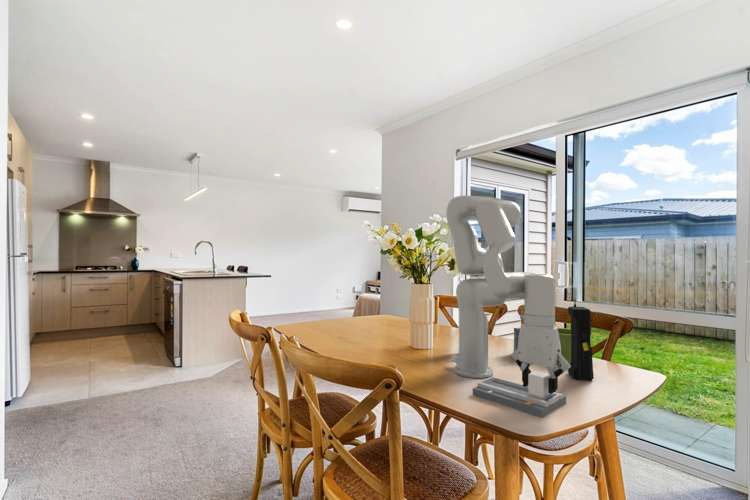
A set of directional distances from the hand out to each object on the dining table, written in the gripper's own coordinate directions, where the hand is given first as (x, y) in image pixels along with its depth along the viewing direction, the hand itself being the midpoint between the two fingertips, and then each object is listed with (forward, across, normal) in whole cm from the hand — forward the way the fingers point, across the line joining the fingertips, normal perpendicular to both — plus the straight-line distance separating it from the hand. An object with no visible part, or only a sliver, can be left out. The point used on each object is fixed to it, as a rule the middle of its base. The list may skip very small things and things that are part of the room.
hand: (539, 388), depth 104 cm
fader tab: (+2, 0, 0) cm, 2 cm away
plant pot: (+5, -14, +49) cm, 51 cm away
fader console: (+5, -6, 0) cm, 8 cm away
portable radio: (+5, -2, +33) cm, 33 cm away
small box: (+5, -26, +43) cm, 50 cm away
